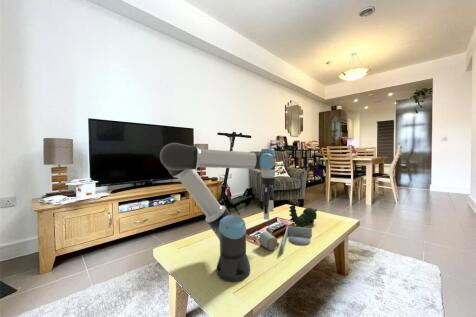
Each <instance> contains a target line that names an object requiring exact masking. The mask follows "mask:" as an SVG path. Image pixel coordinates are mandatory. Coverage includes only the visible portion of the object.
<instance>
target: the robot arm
mask: <svg viewBox="0 0 476 317" xmlns="http://www.w3.org/2000/svg"><path fill="white" fill-rule="evenodd" d="M159 152H160V153H159V160H160V162H161V164H162V165H163V166H164V168H165V169H166V170H167V171H168V172H169V174H170V175H171V177H173V178H177V179H178V181H179V182H180V183H181V184H182V186H183V187H184V188H185V190H186V191H187V192H188V194H189V195H190V196H191V198H192V199H193V200H194V202H195V203H196V204H197V205H198V207H199V208H200V209H201V211H202V213H203V214H204V215H205V222H206V223H207V224H208V226H209V227H210V229H211V230H212V232H213V233H214V234H215V235H216V237H217V239H218V240H219V258H218V261H217V264H216V275H217V277H218V278H219V279H220V280H222V281H225V282H228V283H229V282H230V283H231V282H233V283H234V282H240V281H243V280H246V279H247V278H248V277H249V276H250V274H251V265H250V264H251V263H250V261H249V258H248V256H247V225H246V222H245V220H244V219H243V218H242V217H241V216H237V215H232V214H231V213H230V212H229V210H228V209H227V207H226V206H225V205H222V204H220V203H219V202H218V200H217V198H216V197H215V195H214V194H213V193H212V191H211V190H210V189H209V187H208V186H207V185H206V183H205V182H204V180H203V179H202V177H201V176H200V175H199V173H198V172H197V170H196V169H198V168H216V169H217V168H219V169H220V168H221V169H244V170H245V169H247V170H248V169H249V170H261V171H260V172H261V176H260V177H261V184H262V185H264V187H263V194H262V196H263V198H262V205H261V207H262V208H263V220H270V212H272V213H274V212H275V211H274V201H275V200H276V199H275V194H274V185H276V173H277V171H276V151H275V149H274V148H261V149H260V152H249V151H248V152H247V151H234V150H223V149H222V150H220V149H219V150H217V149H208V148H207V149H205V148H199V147H198V146H196V145H188V144H183V143H179V142H170V143H168V144H165V145H164V146H163V147H162V148H161V150H160V151H159Z"/></svg>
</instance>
